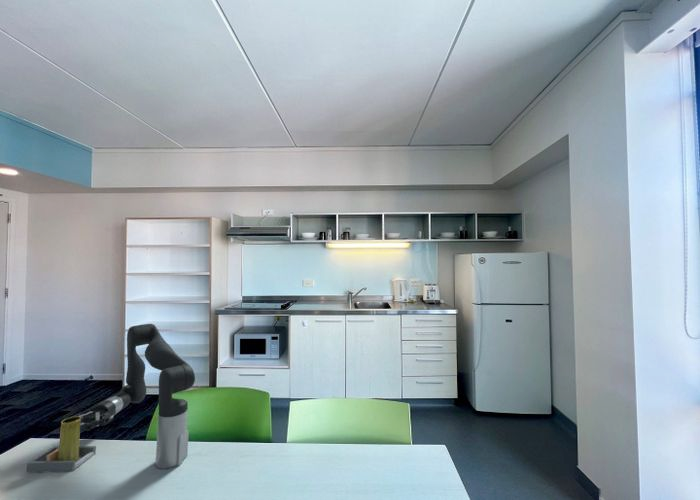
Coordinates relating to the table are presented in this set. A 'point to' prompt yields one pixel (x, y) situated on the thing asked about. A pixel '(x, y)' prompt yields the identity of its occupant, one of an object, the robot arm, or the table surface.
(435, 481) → the table surface
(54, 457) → the pusher
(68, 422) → the vase
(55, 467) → the grey tray
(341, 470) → the table surface
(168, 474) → the table surface
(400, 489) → the table surface
